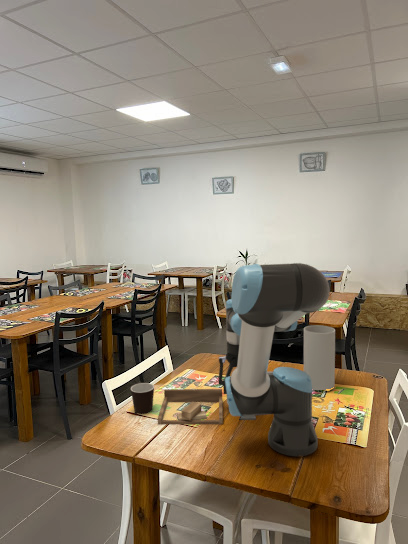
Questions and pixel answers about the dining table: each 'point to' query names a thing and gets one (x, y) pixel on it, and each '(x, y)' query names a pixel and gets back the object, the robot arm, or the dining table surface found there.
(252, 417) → the mat
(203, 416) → the offcut lower
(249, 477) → the dining table surface
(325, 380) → the cylinder vase
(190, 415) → the offcut upper
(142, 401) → the coffee mug
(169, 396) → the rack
